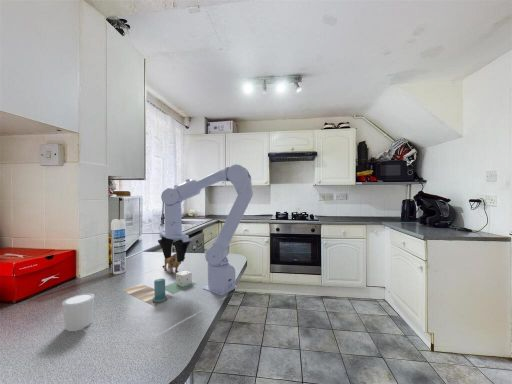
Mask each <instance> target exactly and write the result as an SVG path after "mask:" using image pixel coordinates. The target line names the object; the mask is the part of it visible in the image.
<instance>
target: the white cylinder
mask: <svg viewBox="0 0 512 384" xmlns="http://www.w3.org/2000/svg"><path fill="white" fill-rule="evenodd" d="M95 296H96V295H95V294H94V293H81V294H77V295H74V296H70V297H68V298H66V299H64V300H63V301H62V302H61V305H62V312H63V318H64V325H65V326H64V327H65V331H66V330H68V331H74V332H79V331H81V330H84V329H85V328H86V327H88V326H90V325H91V324H92V323H93V321H94V320H93V319H94V309H95ZM78 330H79V331H78ZM68 331H67V332H68Z"/></svg>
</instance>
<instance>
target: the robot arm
mask: <svg viewBox="0 0 512 384" xmlns="http://www.w3.org/2000/svg"><path fill="white" fill-rule="evenodd" d="M221 182H230V183H231V185H233V186H234V189H235V191H236V194H237V196H236V198H235V200H234V202H233V205H232V207H231V209H230V211H229V212H228V215H227V216H226V219H225V220H224V223H223V225H222V227H221V230H220V231H219V233H218V235H217V237H216V239H215V240H214V242H213V243H212V245H211V246H209V248H208V249H206V251H205V255H204V256H205V260H206V263H207V285H205V286H203V287H202V290H205V291H206V292H207V291H208V292H211V293H213V294H216V295H219V296H224V295H225V294H228V293H229V292H231V291H233V290H235V289H237V288H238V286H237V285H236V282H237V280H236V269H235V267H234V266H233V265H231V264H230V263H229V260H228V258H227V256H228V255H229V252H230V245H231V242H232V239H233V237H234V235H235V233H236V231H237V228H238V227H239V224H240V223H241V221H242V218H243V216H244V214H245V212H246V210H247V209H248V206H249V204H250V202H251V200H252V198H253V196H254V195H253V194H254V191H253V185H252V175H251V174H250V173H249V170H248V169H247V168H245V167H244V166H242V165H240V164H237V163H235V164H232V165H231V166H227V167H226V166H225V167H224V168H221V169H219V170H217V171H215V172H213V173H211V174H208V175H206V176H204V177H203V178H201V179H198V180H196V179H194V178H192V179H191V178H190V179H189V178H188V179H185V181H184V182H183V183H181V184H175V185H173V188H172V187H167V188H166V189H164V190H163V191H162V192H161V195H160V198H161V201H162V203H164V206H163V207H164V208H163V209H164V231H163V232H159V238H160V239H158V240H157V242H158V244H159V246H160V247H161V251H162V253H163V256H164V260H165V259H167V258H170V257H171V256H172V250H173V249H172V248H173V247H174V249H175V254H177V261H178V262H181V263H182V261H185V259H184V257H185V258H186V252H187V249H188V247H189V246H190V243H191V240H190V236H189V235H186V234H185V232H183V229H182V227H183V226H182V224H183V223H182V219H183V218H182V203H183V201H187V200H188V199H190V198H193V197H195V196H197V195H199V194H200V193H201V191H202V190H203V189H205V188H208V187H211V186H213V185H215V184H218V183H221Z"/></svg>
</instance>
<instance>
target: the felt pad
mask: <svg viewBox="0 0 512 384" xmlns="http://www.w3.org/2000/svg"><path fill="white" fill-rule="evenodd" d="M195 285H197V282H194V281H192V283H191V284H188V285H186V286H184V287H182V286H180V285H177V284H176V281H175V282H173V283H170V284H166V285H165V292H168V293H172V295H174V294H177V293H179V292H181V291H184V290H186V289H188V288H190V287H192V286H195Z"/></svg>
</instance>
